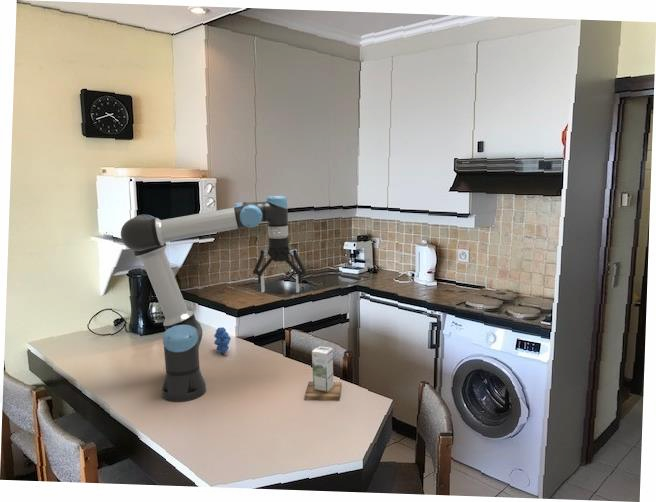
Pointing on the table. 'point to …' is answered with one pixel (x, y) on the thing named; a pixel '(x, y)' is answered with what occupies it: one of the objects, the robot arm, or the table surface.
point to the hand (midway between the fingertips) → (280, 291)
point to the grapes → (222, 340)
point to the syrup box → (322, 368)
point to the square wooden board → (323, 393)
